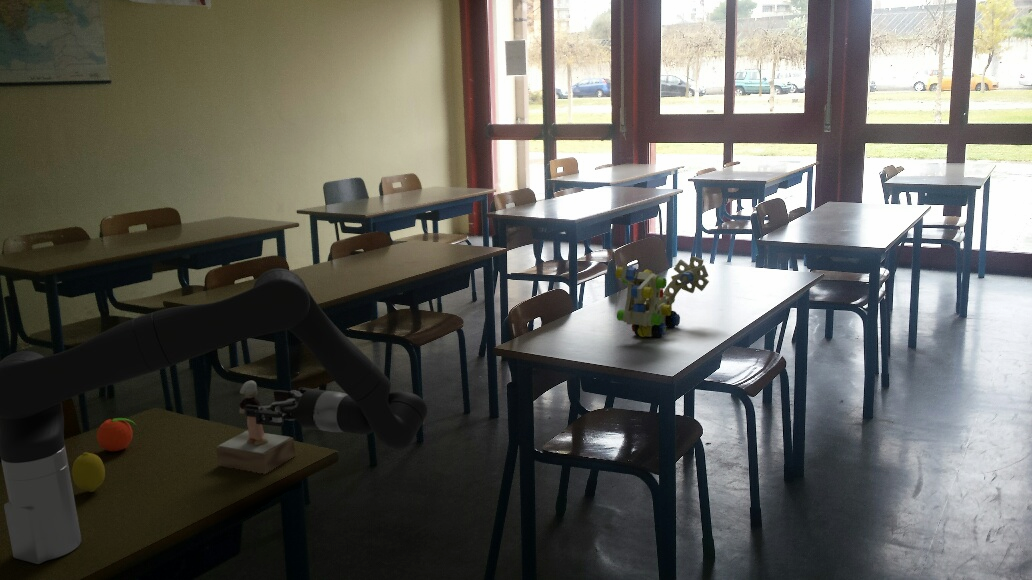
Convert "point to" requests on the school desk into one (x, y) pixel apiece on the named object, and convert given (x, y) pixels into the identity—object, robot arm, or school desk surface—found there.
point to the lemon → (88, 471)
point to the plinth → (255, 453)
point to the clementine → (115, 434)
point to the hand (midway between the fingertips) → (260, 402)
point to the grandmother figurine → (253, 428)
